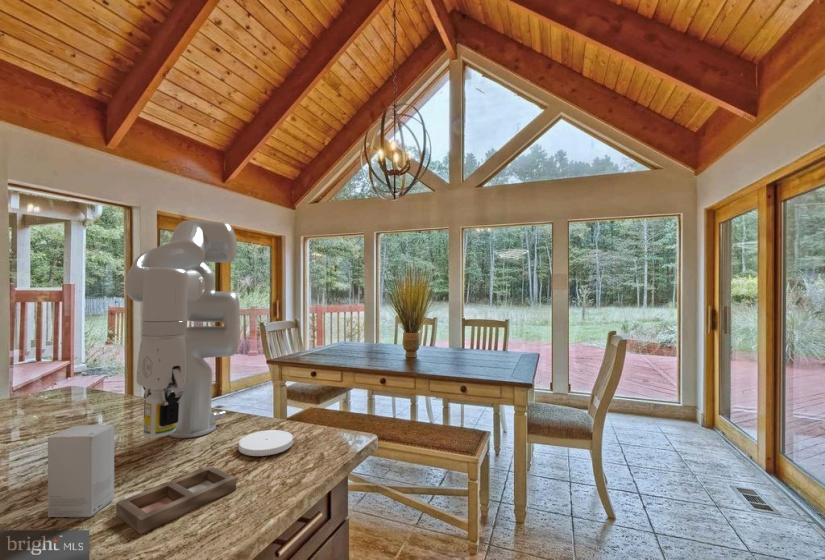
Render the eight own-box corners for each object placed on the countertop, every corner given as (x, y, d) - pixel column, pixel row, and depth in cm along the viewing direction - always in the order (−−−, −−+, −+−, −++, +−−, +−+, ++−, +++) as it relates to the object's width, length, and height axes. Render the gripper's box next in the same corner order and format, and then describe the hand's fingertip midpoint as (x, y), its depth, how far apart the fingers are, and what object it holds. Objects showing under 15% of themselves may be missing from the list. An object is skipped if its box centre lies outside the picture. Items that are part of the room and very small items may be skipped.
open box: (210, 476, 89) (210, 465, 89) (236, 489, 84) (236, 477, 84) (115, 515, 73) (116, 502, 73) (140, 534, 68) (141, 520, 68)
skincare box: (114, 500, 78) (118, 423, 79) (88, 519, 72) (92, 436, 72) (73, 500, 78) (76, 423, 78) (42, 519, 71) (46, 435, 72)
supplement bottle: (137, 438, 72) (139, 387, 73) (153, 428, 78) (155, 380, 78) (167, 437, 73) (169, 387, 73) (181, 427, 78) (183, 380, 79)
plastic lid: (226, 456, 100) (227, 446, 100) (259, 436, 114) (259, 427, 114) (274, 462, 97) (274, 452, 97) (301, 441, 111) (302, 432, 111)
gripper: (123, 327, 77) (119, 417, 77) (166, 334, 68) (162, 437, 68) (163, 325, 84) (159, 408, 83) (207, 331, 75) (203, 424, 74)
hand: (160, 420), depth 75 cm, fingers closed on supplement bottle, 5 cm apart
